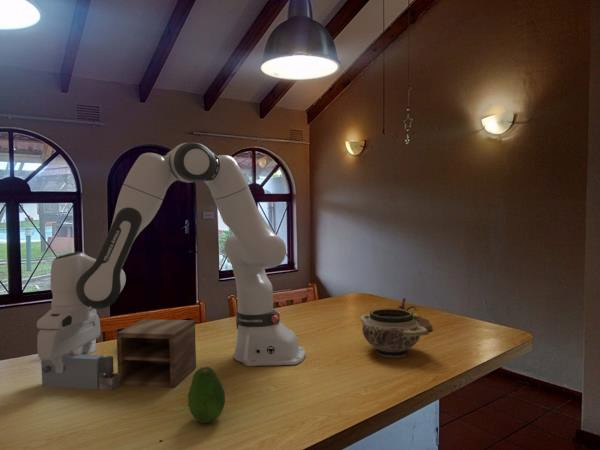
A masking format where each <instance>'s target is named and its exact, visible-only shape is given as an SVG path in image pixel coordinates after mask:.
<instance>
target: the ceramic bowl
mask: <svg viewBox="0 0 600 450" xmlns="http://www.w3.org/2000/svg"><path fill="white" fill-rule="evenodd" d="M411 311H412V310H410V311H408V310H406V308H405V309H397V308H391V307H390V308H389V307H388V308H386V307H385V308H377V309H372V310H370V312H369V314H362V315H361V316H360V317H359V318H360V322H361V324H362V330H361V331H362V335H363V337H364V339H365V340H366V341H367V342H368V343H369V344H370V345H371V346H372V347H373V348H375V349H376V350H375V352H376V353H377V354H378V355H380V356H382V357H386V358H402V357H405V356H406V355H407V354H408V350H409V349H411V348H412V347H414V346H415V345H416V344H417V343H418V342H419V340H420V337H421V336H423V335H424V336H425V335H427V334H428V331H427V329H426V328H424V327H420V325H419V323H418V322H417V321H416V320H415V319H414V318H413V315H414V313H413V311H412V312H411Z"/></svg>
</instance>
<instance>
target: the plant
mask: <svg viewBox="0 0 600 450" xmlns="http://www.w3.org/2000/svg"><path fill="white" fill-rule="evenodd" d="M401 301H402V302H401V305H399V306H398V307H397V308H396V309H405V310H408V311H411V312H412V313H413V310H414V311H415V312H418V310H419V308H418V307H417V306H414V305H410V306H409V307H407V308H406V306H405V303H406V301H407V299H406V298H405V297H403V298H402V300H401ZM410 309H413V310H410ZM417 315H418V313H413V318H414V319H415V320H416V321H417V322H418V323H419V325H420V327H424V328H426V329H427V331H428V332H431V330H432V326H431V323H430V320H429V319H427V318H424V317H421V316H419V315H418V316H417Z"/></svg>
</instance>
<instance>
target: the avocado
mask: <svg viewBox="0 0 600 450" xmlns="http://www.w3.org/2000/svg"><path fill="white" fill-rule="evenodd" d="M225 393H226V392H225V389H224V386H223V384H222V383H221V380H220V379H219V377H218V376H217V374H216V372H215V370H214V369H213V368H211V367H209V366H203V367H200V368H199V369H198V370H197V371H196V372H195V373H194V374H193V376H192V380H191V385H190V387H189V391H188V394H187V401H188V403H187V404H188V405H187V407H188V409H189V412H190V414H191V416H192V417H193V419H194V420H195V421H197V422H199V423H202V424H206V423H210V422H213V421H214V420H216V419H218V417H219V416H220V415H221V413H223V409H224V407H225V404H226V396H225V395H226V394H225Z"/></svg>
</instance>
